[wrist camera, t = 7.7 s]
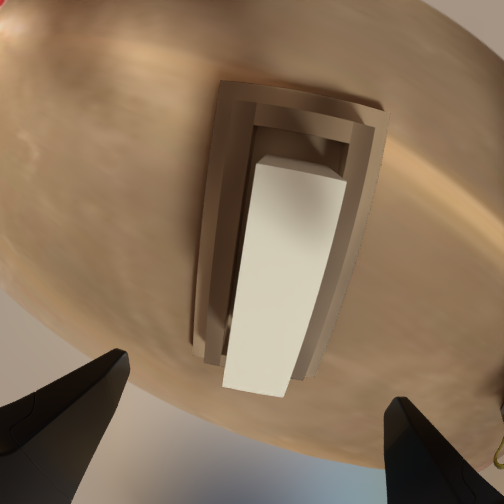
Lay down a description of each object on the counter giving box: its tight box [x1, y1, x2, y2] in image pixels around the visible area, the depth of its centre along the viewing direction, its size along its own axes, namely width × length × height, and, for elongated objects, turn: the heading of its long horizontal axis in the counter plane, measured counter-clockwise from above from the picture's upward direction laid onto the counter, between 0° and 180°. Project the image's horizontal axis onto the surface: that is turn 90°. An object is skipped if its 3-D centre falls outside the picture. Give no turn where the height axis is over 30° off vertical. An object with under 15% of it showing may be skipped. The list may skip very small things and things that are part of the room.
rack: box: [193, 80, 391, 381], centre depth 18 cm, size 10×20×3 cm, turn 171°
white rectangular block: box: [222, 154, 347, 397], centre depth 16 cm, size 4×12×6 cm, turn 171°
